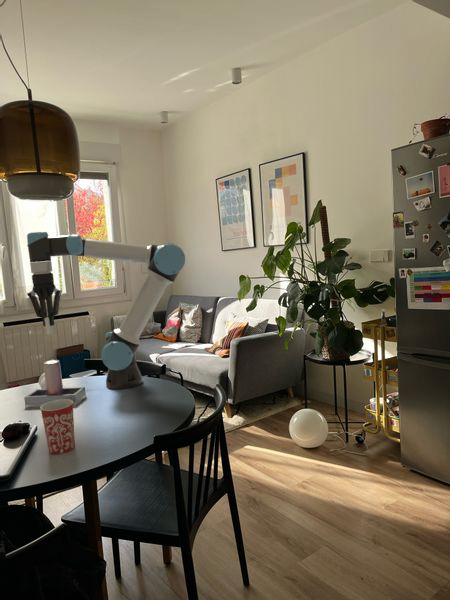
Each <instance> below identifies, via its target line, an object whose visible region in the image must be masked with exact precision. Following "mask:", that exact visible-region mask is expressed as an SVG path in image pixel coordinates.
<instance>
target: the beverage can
mask: <svg viewBox="0 0 450 600" xmlns="http://www.w3.org/2000/svg"><path fill="white" fill-rule="evenodd" d="M43 373H44V374H45V382H46V390H47V395H64V393H63V388H64V385H63V378H62V369H61V363H60V360H59V359H51V360H47V361H44V362H43Z"/></svg>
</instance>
